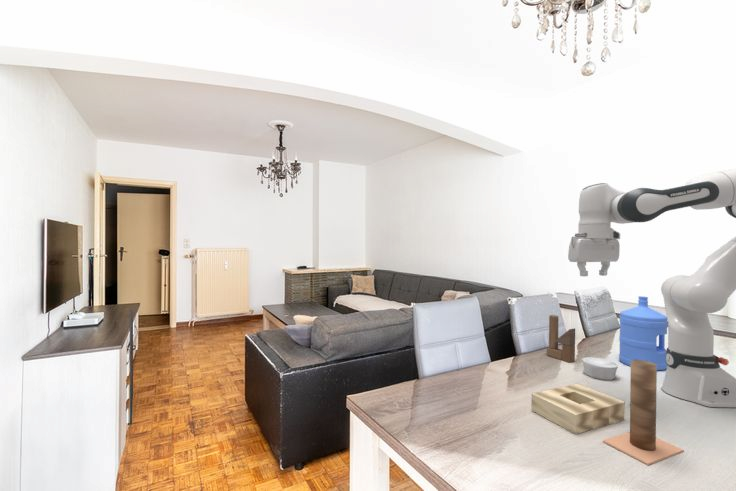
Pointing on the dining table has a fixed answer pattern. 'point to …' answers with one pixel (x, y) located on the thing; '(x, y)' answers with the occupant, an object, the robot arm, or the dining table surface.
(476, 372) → the dining table surface
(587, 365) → the ramekin
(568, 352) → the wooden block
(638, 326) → the water jug
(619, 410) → the slotted wood base
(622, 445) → the terracotta mat
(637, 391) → the walnut key peg
